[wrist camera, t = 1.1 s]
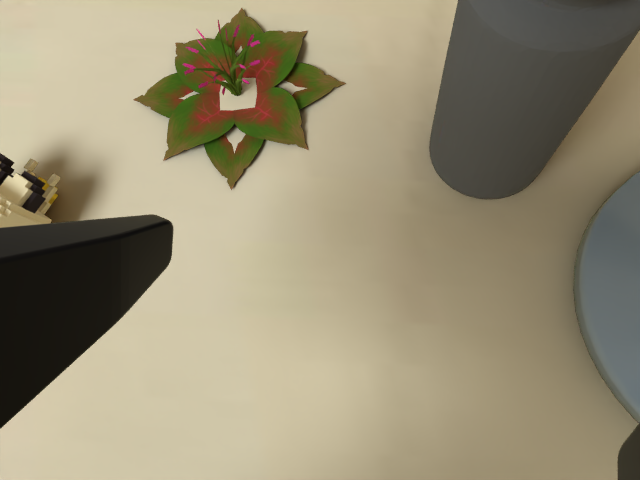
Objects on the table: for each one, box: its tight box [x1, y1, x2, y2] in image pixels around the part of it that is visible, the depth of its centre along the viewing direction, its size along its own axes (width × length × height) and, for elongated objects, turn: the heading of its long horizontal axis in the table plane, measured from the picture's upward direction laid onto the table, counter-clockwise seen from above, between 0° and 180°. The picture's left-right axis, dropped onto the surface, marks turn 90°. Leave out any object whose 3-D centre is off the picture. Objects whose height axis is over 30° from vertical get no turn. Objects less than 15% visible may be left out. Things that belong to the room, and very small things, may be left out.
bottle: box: [429, 0, 640, 199], centre depth 18 cm, size 6×6×15 cm
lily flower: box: [134, 8, 345, 190], centre depth 26 cm, size 12×12×5 cm
